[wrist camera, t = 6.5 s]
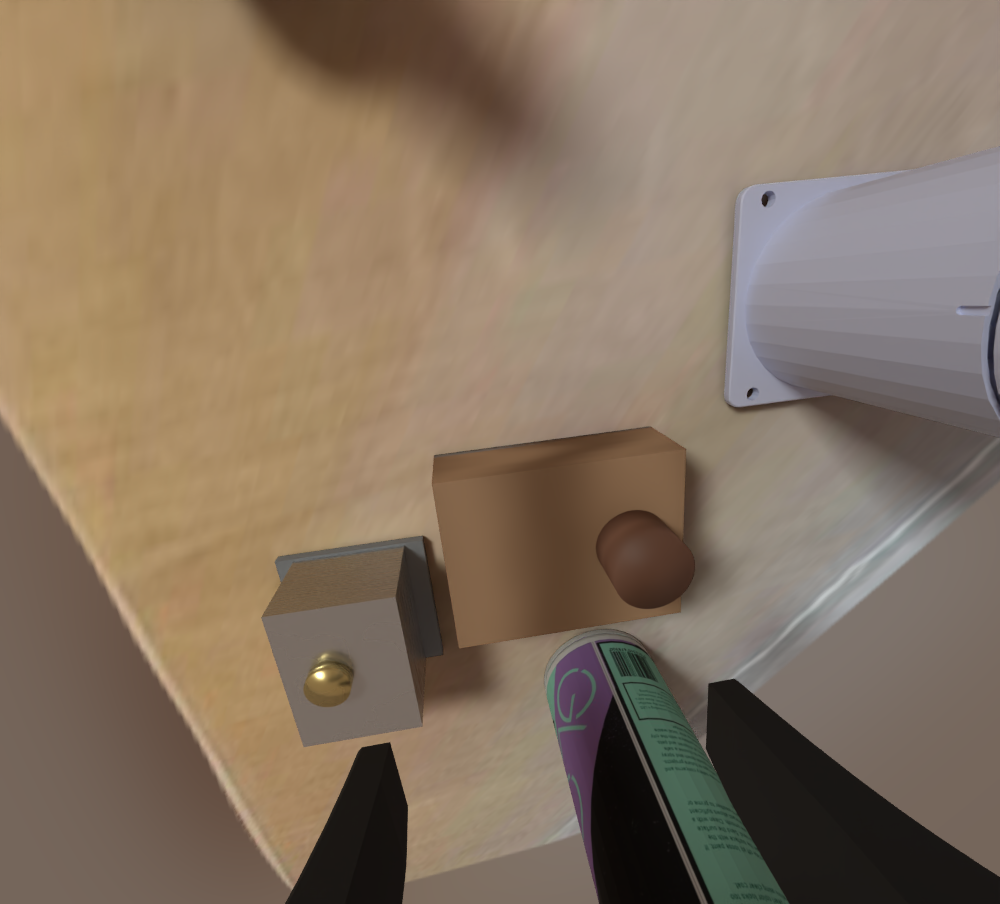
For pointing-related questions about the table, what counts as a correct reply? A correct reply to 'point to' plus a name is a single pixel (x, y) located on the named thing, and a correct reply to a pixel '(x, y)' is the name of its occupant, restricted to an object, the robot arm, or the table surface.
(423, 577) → the mat
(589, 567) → the body
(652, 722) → the spray can
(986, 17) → the table surface
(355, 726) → the grey knob block
